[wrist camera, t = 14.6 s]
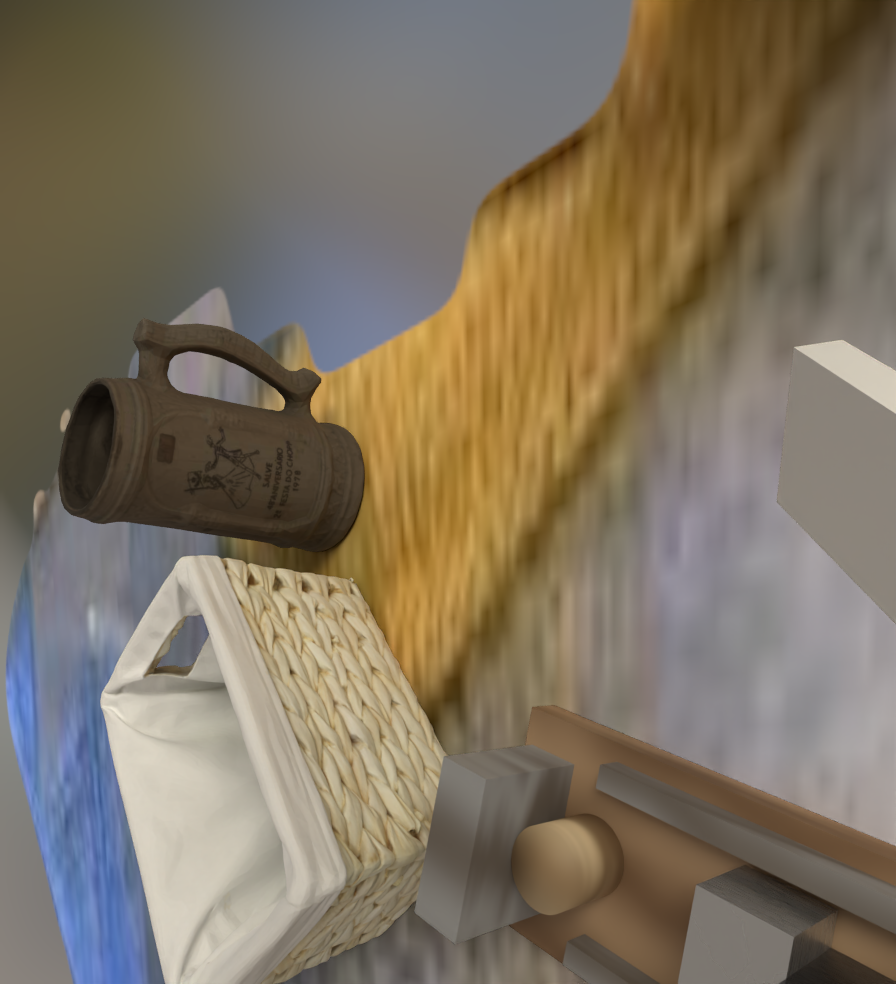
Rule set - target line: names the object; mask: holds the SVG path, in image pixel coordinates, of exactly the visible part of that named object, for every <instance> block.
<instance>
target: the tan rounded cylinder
mask: <svg viewBox="0 0 896 984" xmlns="http://www.w3.org/2000/svg"><path fill="white" fill-rule="evenodd" d="M511 866H512V873H513V878H514V881H515V884H516V886H517V889H518V891H519V892H520V894H521V896H522V897H523V899H524V900H525V901H526V902H527V904H528V905H529V906H530V907H532V908H533V909H534V910H536V911H537V912H539V913H542V914H545V915H556V914H559V913H561V912H564V911H567V910H569V909H572V908H575V907H577V906H580V905H583V904H585V903H588V902H591V901H593V900H596V899H599V898H601V897H604V896H607V895H609V894H611V893H612V892H613V891H614V890H615V889H616V888H617V887H618V885H619V884H620V882H621V879H622V876H623V871H624V856H623V851H622V847H621V844H620V842H619V839H618V837H617V835H616V834H615V832H614V831H613V829H612V828H611V827H610V826H609V825H608V824H607V823H606V822H605V821H604V820H603V819H601V818H599V817H598V816H595V815H592V814H587V813H585V814H579V815H574V816H570V817H566V818H562V819H558V820H554V821H550V822H545V823H541V824H537V825H533V826H529V827H527V828H526V829H524V830H523V831H522V832H521V833H520V834H519V835H518V837H517V838H516V840H515V843H514V845H513V849H512V855H511Z"/></svg>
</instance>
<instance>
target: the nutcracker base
mask: <svg viewBox="0 0 896 984" xmlns="http://www.w3.org/2000/svg"><path fill="white" fill-rule="evenodd" d="M585 813H587V814H592V815H595V816H598V817H599V818H601V819H603V820H604V821H605V822H606V823H607V824H608V825H609V826H610V827H611V828H612V829H613V831H614V832H615V834H616V835H617V837H618V839H619V842H620V844H621V847H622V851H623V856H624V871H623V876H622V879H621V882H620V884H619V885H618V887H617V888H616V889H615V890H614V891H613V892H612V893H611V894H609V895H607V896H604V897H601V898H599V899H596V900H593V901H591V902H588V903H585V904H583V905H580V906H577V907H575V908H572V909H569V910H567V911H564V912H561V913H559V914H556V915H545V914H542V913H539V912H537V911H536V910H534V909H533V908H532V907H530V906H529V905H528V904H527V902H526V901H525V900H524V899H523V897H522V896H521V894H520V892H519V891H518V889H517V886H516V884H515V881H514V878H513V873H512V866H511V855H512V849H513V845H514V843H515V840H516V838H517V837H518V835H519V834H520V833H521V832H522V831H523V830H524V829H526V828H527V827H529V826H533V825H537V824H541V823H545V822H550V821H554V820H558V819H562V818H566V817H570V816H574V815H579V814H585ZM743 865H747V866H749V867H751V868H753V869H755V870H757V871H760V872H762V873H764V874H766V875H768V876H770V877H772V878H774V879H776V880H778V881H780V882H782V883H784V884H786V885H788V886H790V887H792V888H794V889H796V890H798V891H800V892H802V893H804V894H806V895H809V896H811V897H813V898H815V899H817V900H819V901H821V902H823V903H825V904H827V905H829V906H831V907H833V908H835V909H837V910H838V915H837V920H836V925H835V931H834V936H833V941H832V947H831V948H833V949H835V950H837V951H839V952H841V953H843V954H845V955H847V956H848V957H850V958H852V959H854V960H856V961H858V962H860V963H862V964H864V965H866V966H867V967H869V968H871V969H873V970H875V971H877V972H879V973H881V974H883V975H885V976H886V977H888V978H890V979H892V980H894V981H896V846H893V845H891V844H889V843H886V842H884V841H881V840H879V839H877V838H874V837H872V836H869V835H867V834H864V833H862V832H860V831H857V830H855V829H852V828H850V827H847V826H845V825H843V824H840V823H838V822H835V821H833V820H831V819H828V818H826V817H823V816H821V815H818V814H816V813H814V812H811V811H809V810H806V809H804V808H801V807H799V806H797V805H794V804H792V803H789V802H787V801H785V800H782V799H780V798H777V797H775V796H772V795H770V794H768V793H765V792H763V791H760V790H758V789H755V788H753V787H751V786H748V785H746V784H743V783H741V782H739V781H736V780H734V779H731V778H729V777H726V776H724V775H722V774H719V773H717V772H714V771H712V770H709V769H707V768H705V767H702V766H700V765H697V764H695V763H693V762H690V761H688V760H685V759H683V758H680V757H678V756H676V755H673V754H671V753H668V752H666V751H663V750H661V749H659V748H656V747H654V746H651V745H649V744H647V743H644V742H642V741H639V740H637V739H634V738H632V737H630V736H627V735H625V734H622V733H620V732H617V731H615V730H613V729H610V728H608V727H605V726H603V725H601V724H598V723H596V722H593V721H591V720H588V719H586V718H584V717H581V716H579V715H576V714H574V713H571V712H569V711H567V710H564V709H562V708H559V707H557V706H555V705H551V706H538V707H532V711H531V716H530V721H529V727H528V732H527V737H526V743H525V746H518V747H511V748H503V749H496V750H488V751H480V752H473V753H465V754H457V755H450V756H444V757H443V763H442V768H441V773H440V779H439V784H438V789H437V794H436V800H435V805H434V810H433V816H432V821H431V826H430V832H429V837H428V842H427V848H426V853H425V858H424V864H423V869H422V874H421V879H420V885H419V890H418V895H417V901H416V906H415V911H414V913H416V914H417V915H418V916H419V917H421V918H422V919H423V920H424V921H426V922H427V923H428V924H430V925H431V926H432V927H433V928H435V929H436V930H437V931H438V932H440V933H441V934H442V935H444V936H445V937H446V938H447V939H449V940H450V941H451V942H452V943H454V944H458V943H461V942H463V941H466V940H469V939H472V938H474V937H477V936H480V935H483V934H485V933H488V932H491V931H494V930H496V929H499V928H502V927H505V926H507V925H509V926H510V927H512V928H513V929H514V930H516V931H517V932H519V933H520V934H521V935H523V936H524V937H526V938H527V939H528V940H530V941H531V942H533V943H534V944H535V945H537V946H538V947H540V948H541V949H543V950H544V951H545V952H547V953H548V954H550V955H551V956H552V957H554V958H555V959H557V960H558V961H559V962H561V963H562V964H563V966H565V967H566V968H568V969H569V970H571V971H572V972H573V973H575V974H576V975H578V976H579V977H580V978H582V979H583V980H585V981H586V982H587V983H589V984H678V979H679V974H680V968H681V963H682V958H683V952H684V947H685V942H686V936H687V931H688V926H689V920H690V915H691V910H692V904H693V899H694V894H695V888H696V885H697V884H699V883H702V882H704V881H707V880H709V879H711V878H714V877H716V876H719V875H721V874H723V873H726V872H728V871H731V870H733V869H736V868H738V867H740V866H743Z"/></svg>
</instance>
